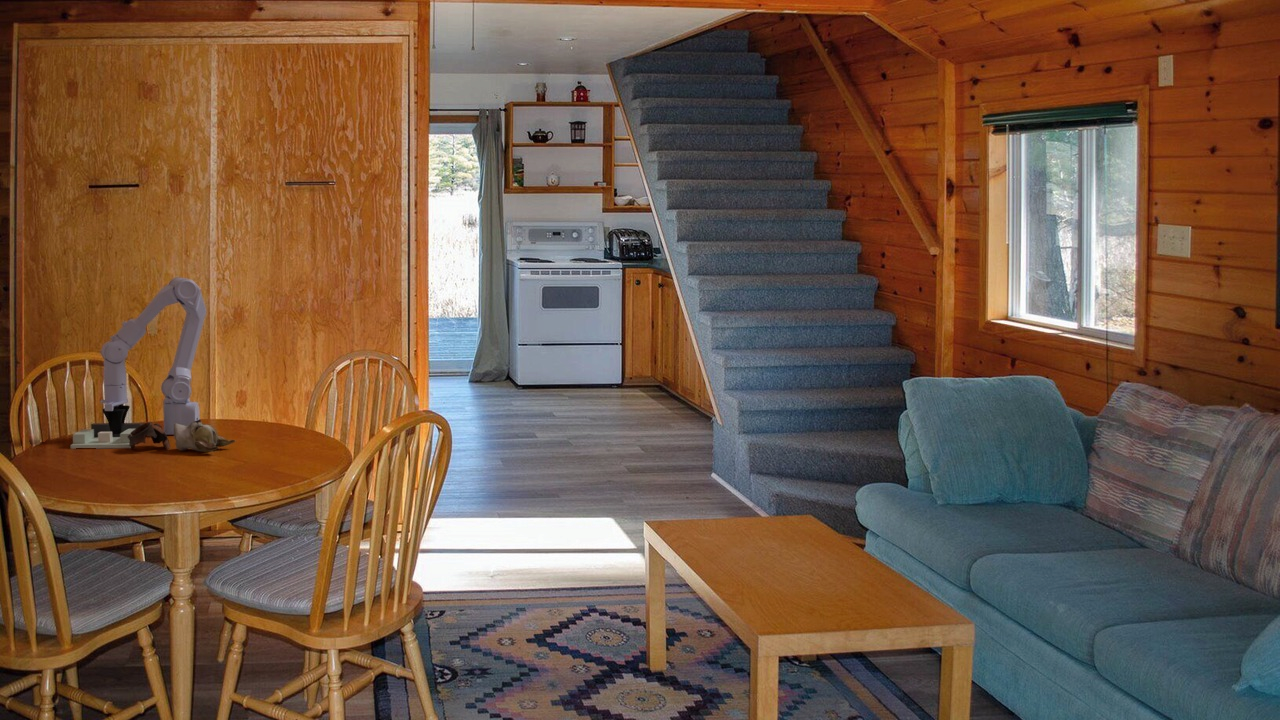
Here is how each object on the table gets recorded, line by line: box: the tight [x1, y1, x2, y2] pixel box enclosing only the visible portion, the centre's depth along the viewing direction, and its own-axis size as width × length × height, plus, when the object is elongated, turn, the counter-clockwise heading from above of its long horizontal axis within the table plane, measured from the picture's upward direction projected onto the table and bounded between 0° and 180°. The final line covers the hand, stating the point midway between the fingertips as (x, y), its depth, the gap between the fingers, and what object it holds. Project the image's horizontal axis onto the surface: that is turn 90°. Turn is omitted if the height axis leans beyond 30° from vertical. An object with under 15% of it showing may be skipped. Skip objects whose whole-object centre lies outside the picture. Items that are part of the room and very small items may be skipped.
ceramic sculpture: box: [173, 419, 236, 453], centre depth 324 cm, size 11×9×15 cm
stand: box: [70, 428, 135, 450], centre depth 332 cm, size 15×11×4 cm
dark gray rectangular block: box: [90, 422, 145, 437], centre depth 344 cm, size 13×7×4 cm, turn 98°
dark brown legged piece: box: [128, 421, 171, 451], centre depth 327 cm, size 12×10×8 cm
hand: (117, 432), depth 341 cm, fingers closed on dark gray rectangular block, 2 cm apart
